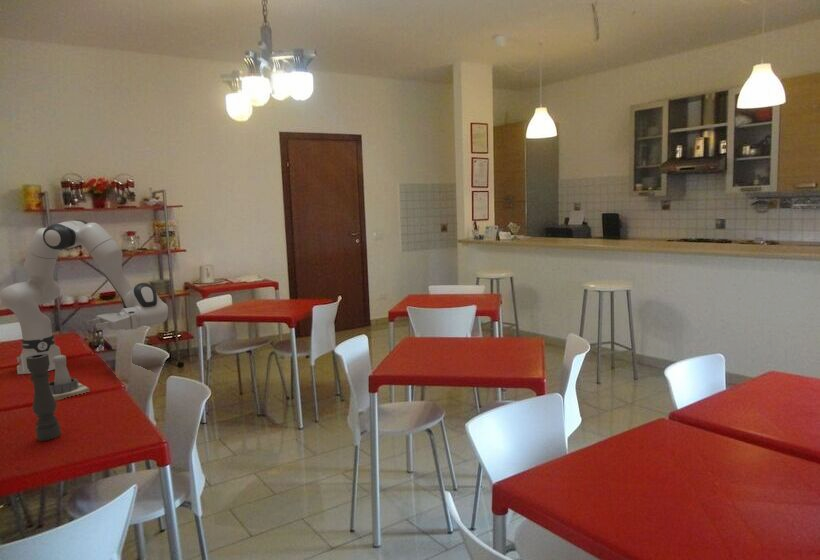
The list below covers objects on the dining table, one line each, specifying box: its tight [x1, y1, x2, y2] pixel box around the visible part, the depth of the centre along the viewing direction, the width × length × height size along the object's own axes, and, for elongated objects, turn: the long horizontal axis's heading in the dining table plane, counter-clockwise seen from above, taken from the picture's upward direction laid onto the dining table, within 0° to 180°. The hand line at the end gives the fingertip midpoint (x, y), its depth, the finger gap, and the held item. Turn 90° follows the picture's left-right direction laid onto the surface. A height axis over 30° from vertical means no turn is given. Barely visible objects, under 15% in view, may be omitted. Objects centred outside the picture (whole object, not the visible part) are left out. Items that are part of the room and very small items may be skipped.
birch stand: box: [52, 381, 91, 402], centre depth 223 cm, size 14×14×2 cm
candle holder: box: [26, 354, 62, 442], centre depth 178 cm, size 6×6×25 cm
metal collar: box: [49, 377, 79, 394], centre depth 222 cm, size 10×10×3 cm
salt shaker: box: [53, 354, 72, 386], centre depth 222 cm, size 6×6×13 cm
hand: (91, 324), depth 235 cm, fingers open, 8 cm apart
